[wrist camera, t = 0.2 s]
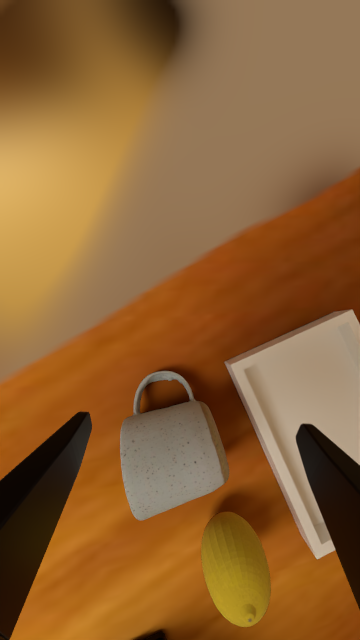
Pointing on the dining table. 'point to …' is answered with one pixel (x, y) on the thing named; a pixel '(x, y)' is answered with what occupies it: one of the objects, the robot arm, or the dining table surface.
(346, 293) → the dining table surface
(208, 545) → the lemon
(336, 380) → the tray
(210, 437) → the ceramic mug
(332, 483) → the robot arm
